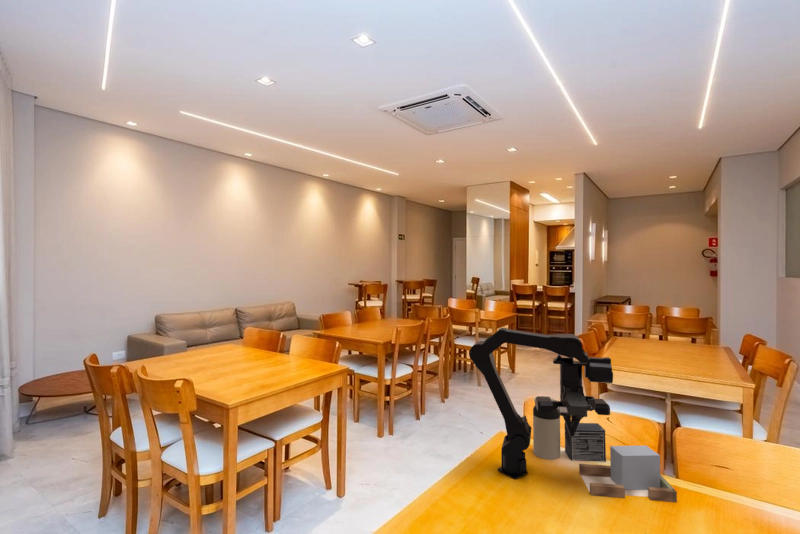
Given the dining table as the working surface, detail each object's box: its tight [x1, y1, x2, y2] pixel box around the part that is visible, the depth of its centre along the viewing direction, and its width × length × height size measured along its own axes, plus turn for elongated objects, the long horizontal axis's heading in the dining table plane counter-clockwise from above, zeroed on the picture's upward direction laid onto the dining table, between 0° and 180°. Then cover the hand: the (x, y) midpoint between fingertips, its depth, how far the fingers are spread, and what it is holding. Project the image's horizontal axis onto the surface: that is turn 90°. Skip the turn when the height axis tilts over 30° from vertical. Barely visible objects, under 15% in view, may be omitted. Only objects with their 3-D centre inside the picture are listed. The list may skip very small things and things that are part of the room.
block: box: [609, 445, 661, 490], centre depth 112 cm, size 10×6×9 cm, turn 91°
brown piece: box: [578, 463, 678, 503], centre depth 111 cm, size 20×22×4 cm
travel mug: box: [532, 395, 561, 461], centre depth 131 cm, size 8×8×18 cm
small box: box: [564, 422, 607, 463], centre depth 129 cm, size 11×6×10 cm, turn 84°
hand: (571, 436), depth 116 cm, fingers closed
